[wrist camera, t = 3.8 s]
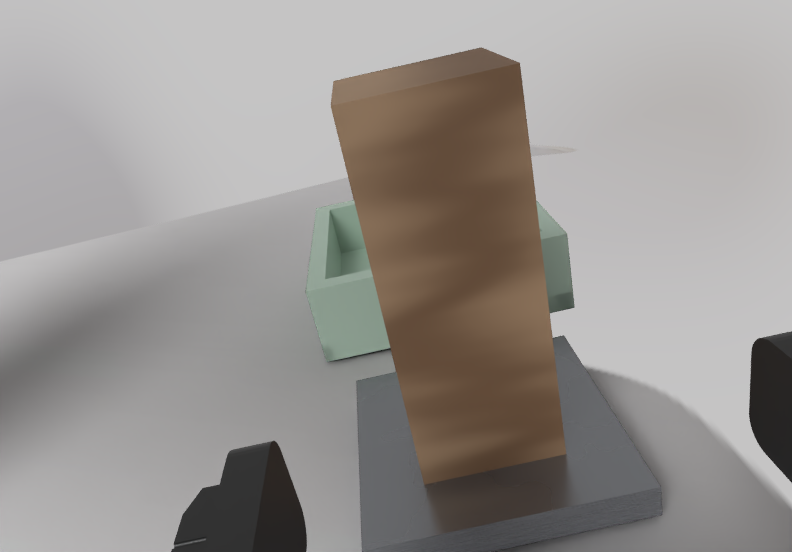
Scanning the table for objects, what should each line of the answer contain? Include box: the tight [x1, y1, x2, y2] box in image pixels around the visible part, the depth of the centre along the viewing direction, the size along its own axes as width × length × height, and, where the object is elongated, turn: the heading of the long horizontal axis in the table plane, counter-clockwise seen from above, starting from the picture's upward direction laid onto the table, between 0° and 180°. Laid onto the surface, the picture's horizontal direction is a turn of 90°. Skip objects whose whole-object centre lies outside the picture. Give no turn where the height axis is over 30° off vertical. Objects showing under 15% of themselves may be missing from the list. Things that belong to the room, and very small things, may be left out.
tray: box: [306, 200, 574, 362], centre depth 32 cm, size 11×11×4 cm
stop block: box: [331, 48, 566, 485], centre depth 18 cm, size 4×4×11 cm
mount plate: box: [357, 336, 662, 552], centre depth 20 cm, size 8×8×1 cm
